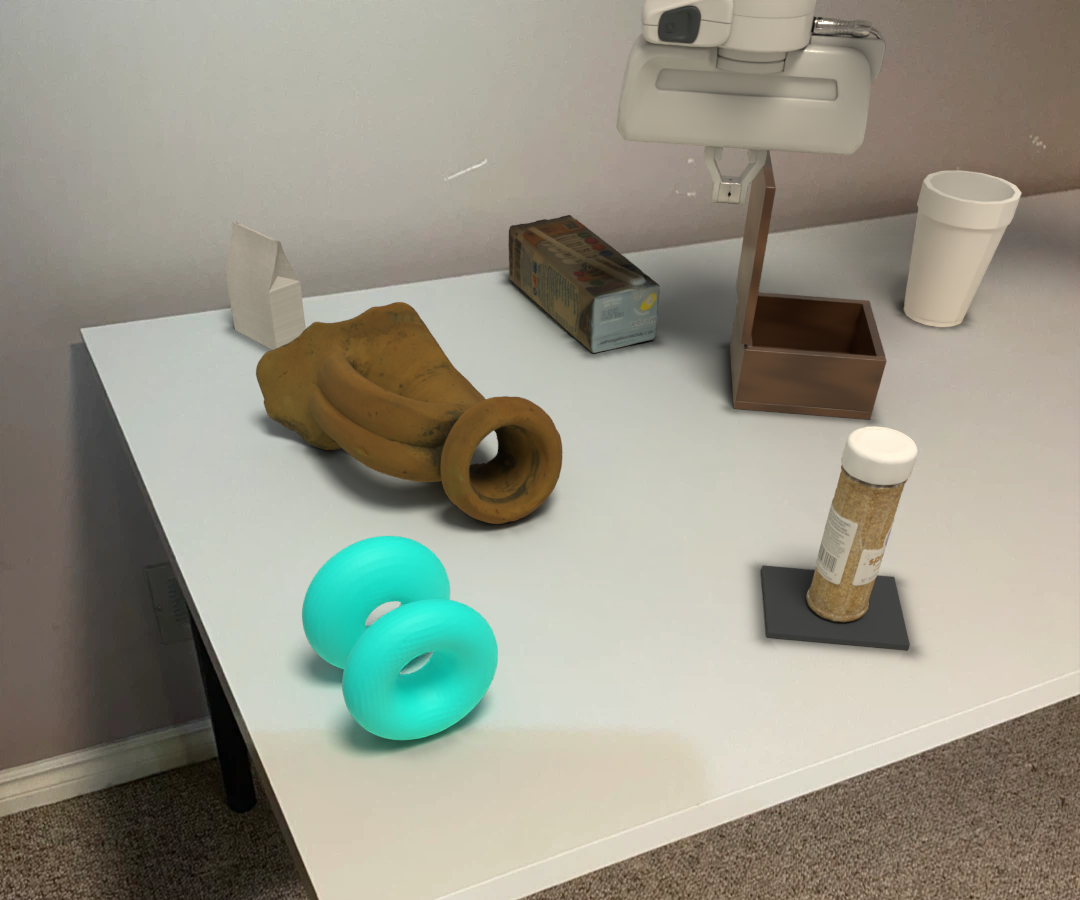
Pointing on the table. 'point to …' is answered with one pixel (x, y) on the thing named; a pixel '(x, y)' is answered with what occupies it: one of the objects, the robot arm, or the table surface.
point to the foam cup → (955, 242)
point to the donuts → (399, 638)
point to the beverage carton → (583, 283)
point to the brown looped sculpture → (410, 412)
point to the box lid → (754, 247)
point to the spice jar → (860, 521)
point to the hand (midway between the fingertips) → (727, 201)
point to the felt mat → (800, 622)
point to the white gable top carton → (263, 289)
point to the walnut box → (808, 357)
